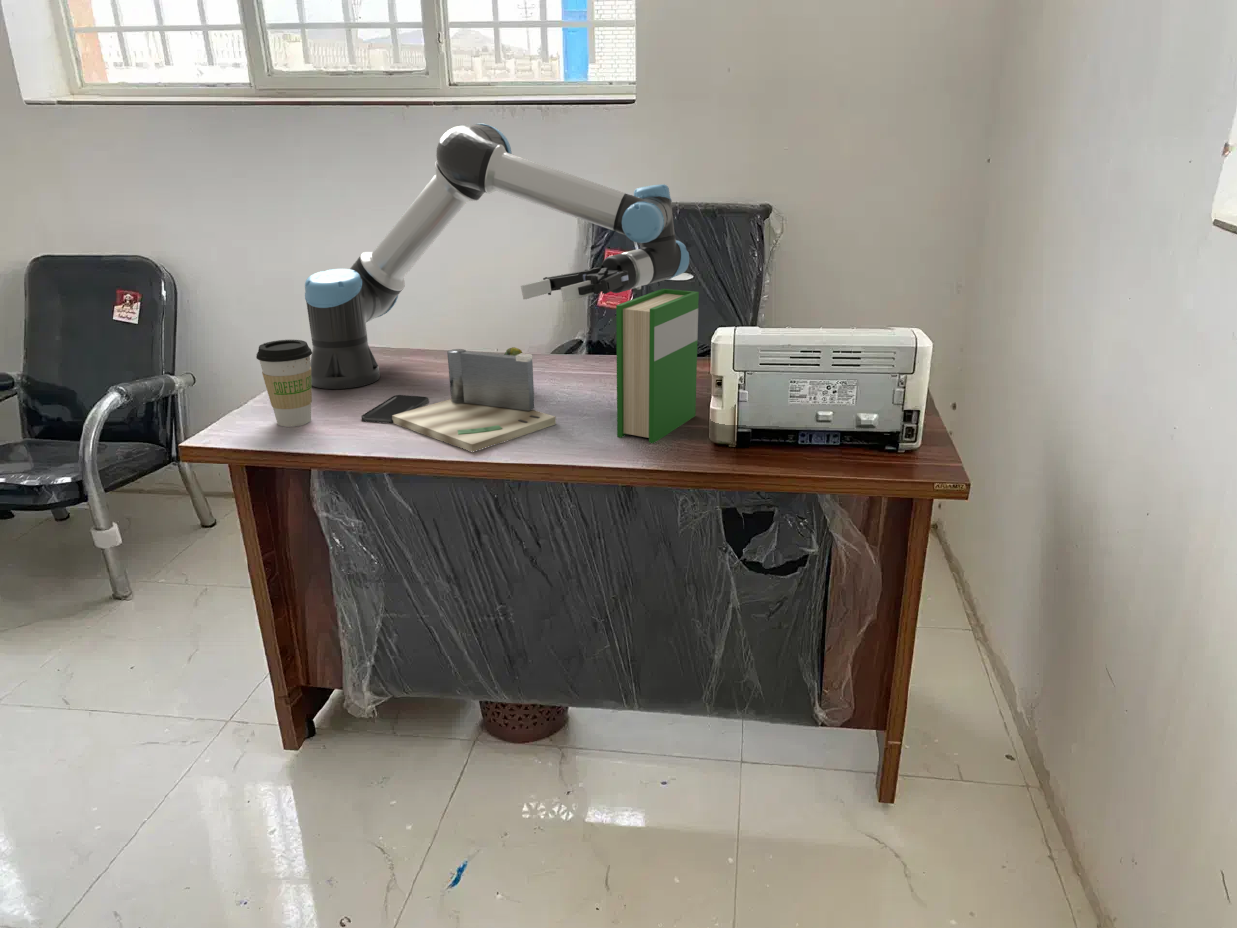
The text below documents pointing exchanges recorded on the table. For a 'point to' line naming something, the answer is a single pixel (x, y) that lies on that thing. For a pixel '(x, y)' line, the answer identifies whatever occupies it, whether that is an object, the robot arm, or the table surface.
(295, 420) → the coffee cup
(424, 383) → the table surface
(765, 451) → the table surface
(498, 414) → the board
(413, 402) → the phone
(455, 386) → the grey flat rounded-edge slab
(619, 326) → the hardback book
